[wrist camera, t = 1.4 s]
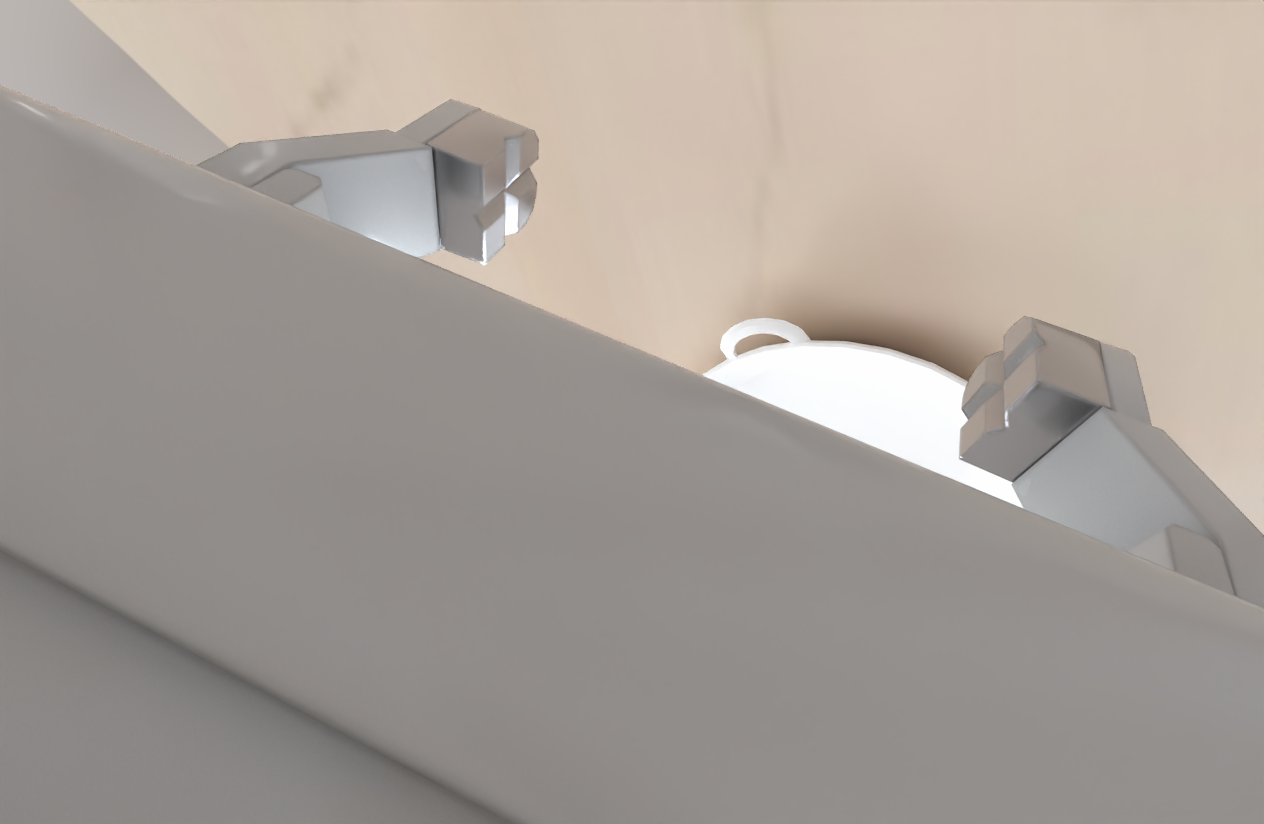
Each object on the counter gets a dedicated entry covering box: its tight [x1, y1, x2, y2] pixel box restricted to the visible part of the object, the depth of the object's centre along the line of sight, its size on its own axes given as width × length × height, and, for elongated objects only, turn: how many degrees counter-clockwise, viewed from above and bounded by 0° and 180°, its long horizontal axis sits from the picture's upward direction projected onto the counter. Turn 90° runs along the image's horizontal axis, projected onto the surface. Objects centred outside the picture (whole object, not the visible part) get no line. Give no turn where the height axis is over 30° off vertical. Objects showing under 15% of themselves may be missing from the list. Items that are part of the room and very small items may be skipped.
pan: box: [702, 318, 1024, 509], centre depth 51 cm, size 34×28×4 cm
